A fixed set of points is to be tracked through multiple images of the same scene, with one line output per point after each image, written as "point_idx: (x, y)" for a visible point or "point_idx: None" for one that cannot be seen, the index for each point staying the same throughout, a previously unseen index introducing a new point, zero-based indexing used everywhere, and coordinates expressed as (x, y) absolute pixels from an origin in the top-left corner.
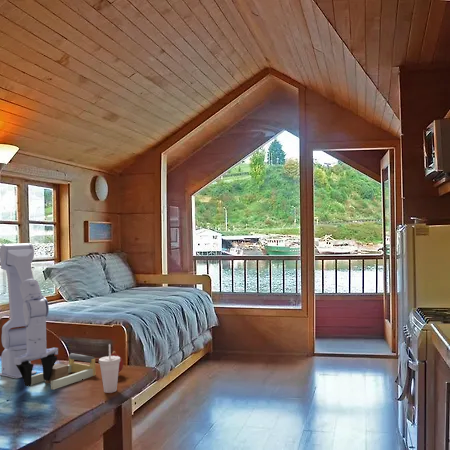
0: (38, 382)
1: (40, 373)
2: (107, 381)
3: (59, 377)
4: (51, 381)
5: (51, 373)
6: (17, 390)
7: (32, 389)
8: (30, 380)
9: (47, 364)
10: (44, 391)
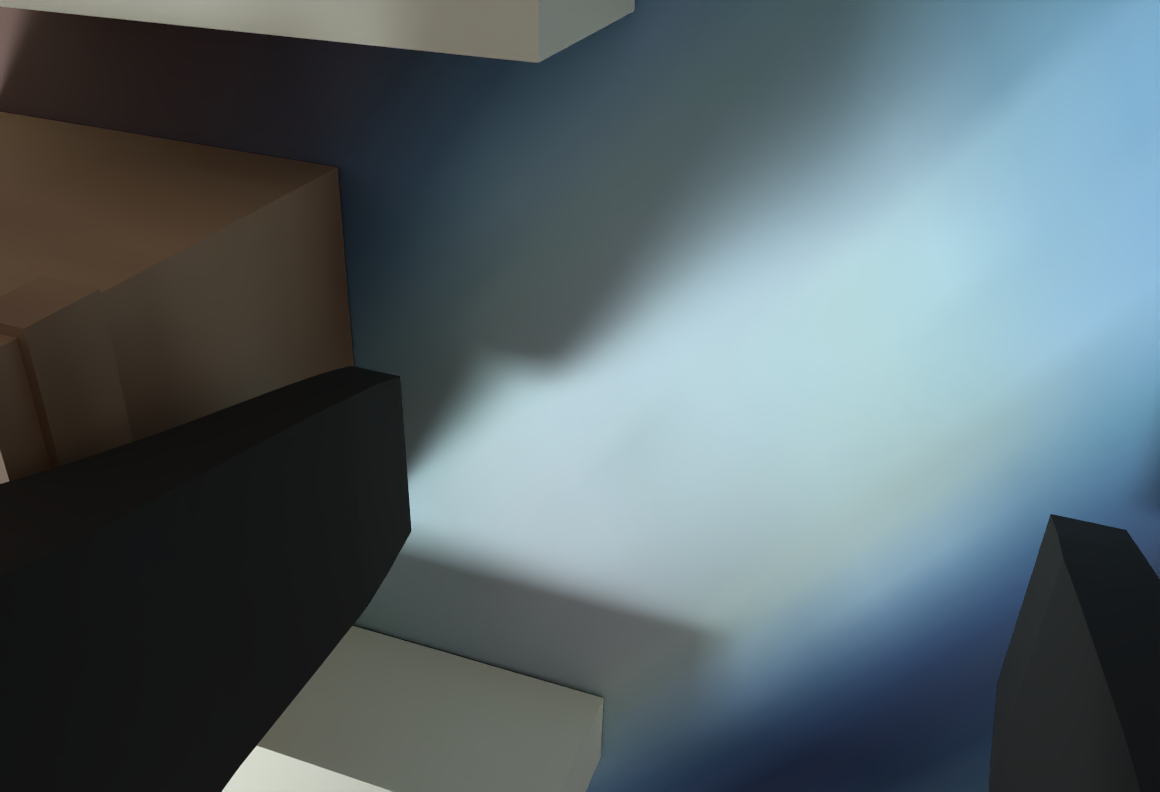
0: (435, 650)
1: (255, 787)
2: None
3: (98, 201)
4: (542, 2)
5: None
6: None
7: (864, 495)
8: (1137, 627)
9: (21, 745)
10: (899, 21)
